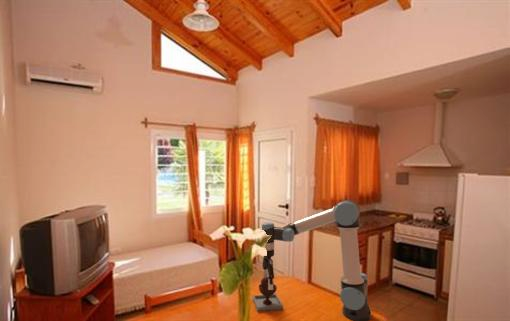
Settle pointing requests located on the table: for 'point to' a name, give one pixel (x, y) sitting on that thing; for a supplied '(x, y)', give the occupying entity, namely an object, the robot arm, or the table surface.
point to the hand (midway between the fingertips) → (268, 284)
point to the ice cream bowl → (266, 290)
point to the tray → (262, 307)
